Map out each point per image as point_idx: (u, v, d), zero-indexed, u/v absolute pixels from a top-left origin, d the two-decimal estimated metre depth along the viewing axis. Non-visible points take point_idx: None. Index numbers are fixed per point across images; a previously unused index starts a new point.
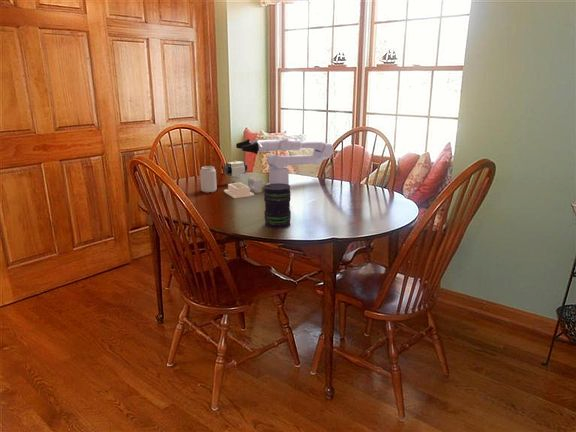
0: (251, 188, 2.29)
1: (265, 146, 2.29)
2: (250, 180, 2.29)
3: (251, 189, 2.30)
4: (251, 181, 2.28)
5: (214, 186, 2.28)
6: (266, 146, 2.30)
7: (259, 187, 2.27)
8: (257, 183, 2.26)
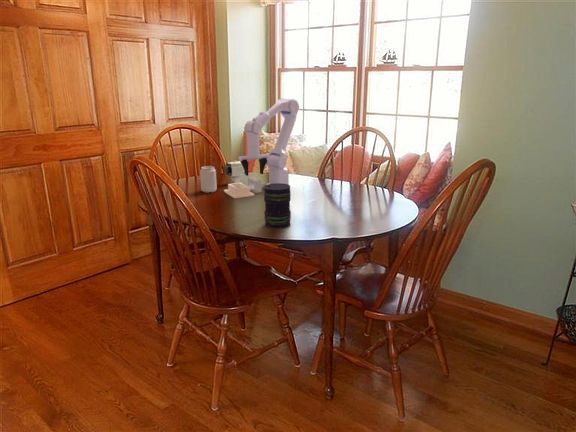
0: (251, 188, 2.29)
1: None
2: (250, 180, 2.29)
3: (251, 189, 2.30)
4: (251, 181, 2.28)
5: (214, 186, 2.28)
6: None
7: (259, 187, 2.27)
8: (257, 183, 2.26)
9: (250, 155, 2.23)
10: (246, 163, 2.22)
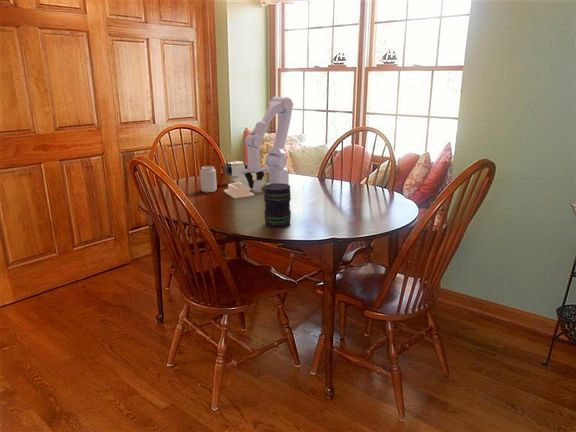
0: (251, 188, 2.29)
1: None
2: None
3: (251, 189, 2.30)
4: None
5: (214, 186, 2.28)
6: None
7: (259, 187, 2.27)
8: (257, 183, 2.26)
9: (250, 168, 2.25)
10: (250, 176, 2.25)
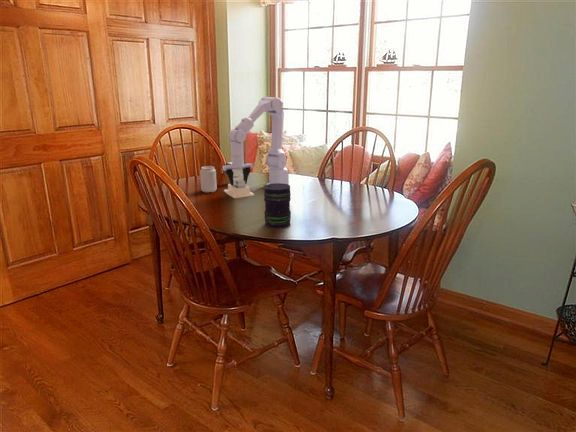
0: None
1: None
2: (234, 181, 2.23)
3: None
4: (235, 181, 2.22)
5: (214, 186, 2.28)
6: None
7: None
8: (241, 184, 2.20)
9: (234, 164, 2.19)
10: (231, 173, 2.18)
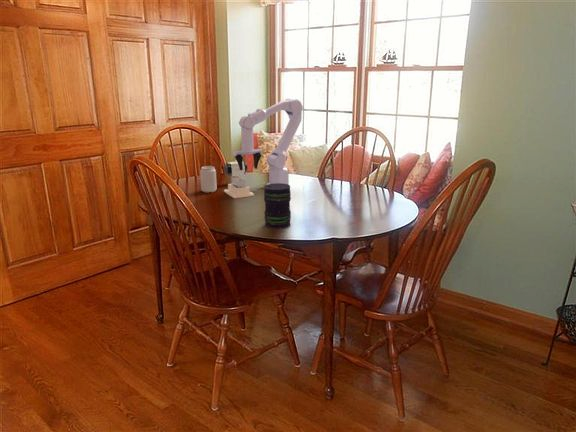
0: None
1: None
2: (234, 181, 2.23)
3: None
4: (235, 181, 2.22)
5: (214, 186, 2.28)
6: None
7: None
8: (241, 184, 2.20)
9: (244, 150, 2.26)
10: (240, 158, 2.26)
